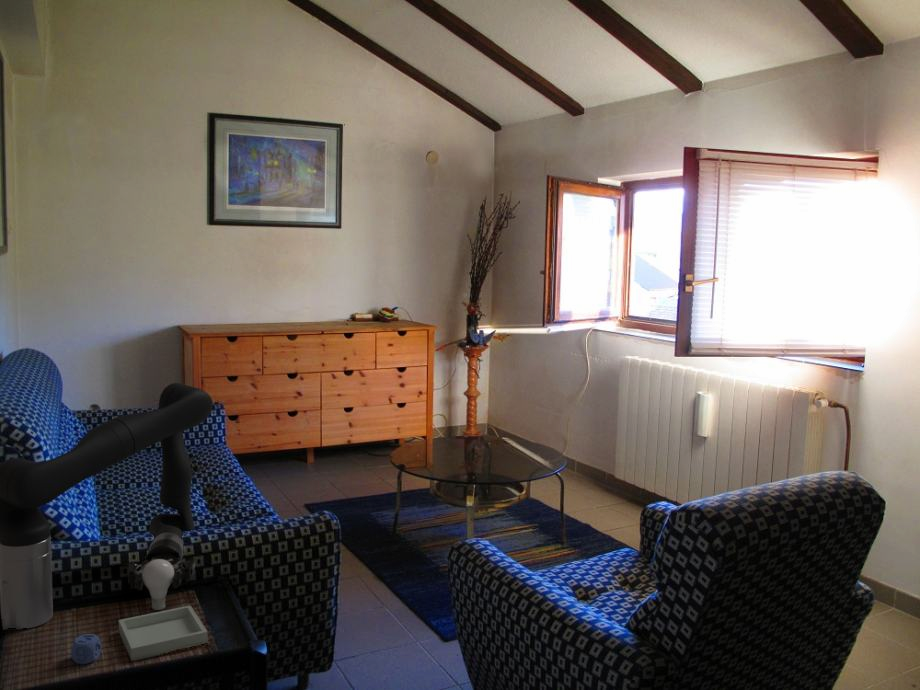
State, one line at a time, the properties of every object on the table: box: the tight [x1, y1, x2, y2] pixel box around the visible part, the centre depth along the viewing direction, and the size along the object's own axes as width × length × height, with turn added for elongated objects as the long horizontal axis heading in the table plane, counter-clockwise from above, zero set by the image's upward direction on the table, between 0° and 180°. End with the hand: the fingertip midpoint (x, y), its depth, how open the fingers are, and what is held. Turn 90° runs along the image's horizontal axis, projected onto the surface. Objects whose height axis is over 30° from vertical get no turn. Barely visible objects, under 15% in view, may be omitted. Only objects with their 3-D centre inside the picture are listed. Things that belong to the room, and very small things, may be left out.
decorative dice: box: [70, 633, 102, 665], centre depth 154 cm, size 4×4×4 cm
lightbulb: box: [142, 559, 174, 611], centre depth 173 cm, size 6×6×11 cm
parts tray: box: [118, 605, 209, 662], centre depth 162 cm, size 14×13×2 cm
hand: (157, 585), depth 171 cm, fingers closed on lightbulb, 6 cm apart
